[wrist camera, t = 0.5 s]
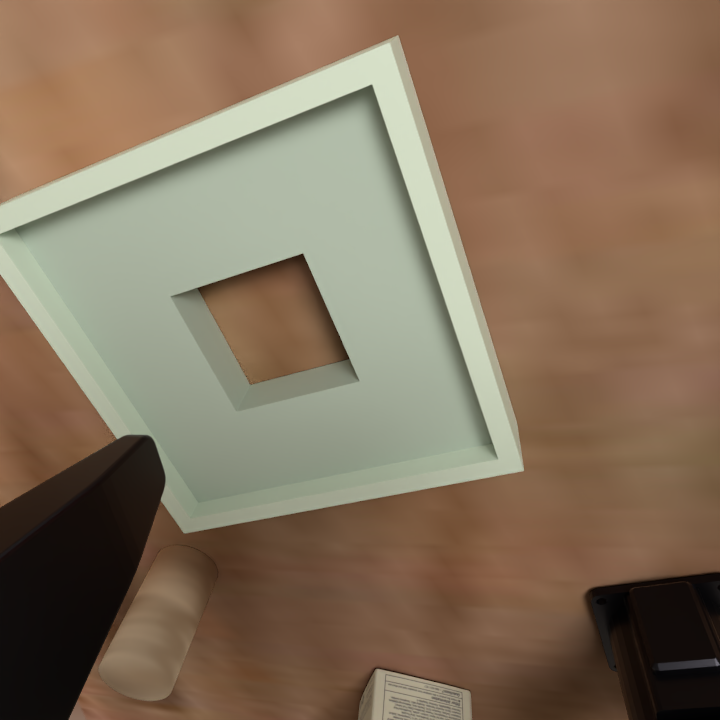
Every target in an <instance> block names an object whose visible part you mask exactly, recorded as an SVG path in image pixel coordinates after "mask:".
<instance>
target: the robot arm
mask: <svg viewBox="0 0 720 720" xmlns="http://www.w3.org/2000/svg"><path fill="white" fill-rule="evenodd" d="M165 483H166V476H165V471H164V468H163V465H162V462H161V459H160V456H159V453H158V450H157V447H156V444H155V441H154V439H153V438H152V437H151V436H149V435H134V434H130V435H124V436H122V437H121V438H119V439H117V440H115V441H114V442H112V443H110V444H109V445H107V446H105V447H103V448H102V449H100V450H98V451H97V452H95V453H93V454H91V455H90V456H88V457H86V458H85V459H83V460H81V461H79V462H78V463H76V464H74V465H73V466H71V467H69V468H67V469H66V470H64V471H62V472H60V473H59V474H57V475H55V476H54V477H52V478H50V479H48V480H47V481H45V482H43V483H42V484H40V485H38V486H36V487H35V488H33V489H31V490H30V491H28V492H26V493H24V494H23V495H21V496H19V497H18V498H16V499H14V500H12V501H11V502H9V503H7V504H6V505H4V506H2V507H0V720H69V717H70V715H71V713H72V711H73V709H74V706H75V704H76V702H77V700H78V698H79V696H80V693H81V691H82V689H83V687H84V685H85V682H86V680H87V678H88V676H89V674H90V672H91V669H92V667H93V665H94V663H95V661H96V658H97V656H98V654H99V652H100V650H101V648H102V645H103V643H104V641H105V639H106V637H107V635H108V632H109V630H110V628H111V626H112V624H113V621H114V619H115V617H116V615H117V613H118V611H119V608H120V606H121V604H122V602H123V600H124V597H125V595H126V593H127V591H128V589H129V587H130V584H131V582H132V580H133V577H134V575H135V573H136V570H137V568H138V565H139V562H140V560H141V557H142V554H143V551H144V548H145V545H146V542H147V539H148V536H149V533H150V530H151V527H152V524H153V521H154V518H155V515H156V512H157V509H158V506H159V503H160V500H161V497H162V494H163V491H164V488H165ZM590 600H591V604H592V608H593V611H594V615H595V618H596V622H597V625H598V629H599V632H600V636H601V640H602V643H603V647H604V650H605V654H606V657H607V661H608V664H609V667H610V669H611V670H613V671H616V672H618V676H619V681H620V685H621V689H622V693H623V697H624V701H625V705H626V710H627V714H628V718H629V720H720V573H719V574H711V575H703V576H695V577H686V578H678V579H670V580H662V581H654V582H646V583H638V584H630V585H621V586H613V587H605V588H598V589H594V590H592V591H591V592H590Z"/></svg>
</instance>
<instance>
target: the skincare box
mask: <svg viewBox="0 0 720 720" xmlns="http://www.w3.org/2000/svg"><path fill="white" fill-rule="evenodd" d="M358 720H472V708H471V693H470V691H468V690H464V689H460V688H457V687H453V686H449V685H445V684H441V683H437V682H433V681H428V680H424V679H420V678H416V677H412V676H408V675H404V674H400V673H395V672H390V671H386V670H382V669H375V671H374V673H373V675H372V677H371V679H370V680H369V682H368V684H367V686H366V688H365V691H364V693H363V695H362V698H361V701H360V706H359V716H358Z"/></svg>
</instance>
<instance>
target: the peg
mask: <svg viewBox="0 0 720 720" xmlns="http://www.w3.org/2000/svg"><path fill="white" fill-rule="evenodd" d="M217 577H218V570H217V567H216V565H215V563H214V562H213V561H212V560H211V559H210V558H209V557H208V556H207V555H206V554H204V553H203V552H201V551H199V550H197V549H194V548H192V547H188V546H183V545H173V546H168V547H165V548H163V549H162V550H160V551H159V553H158V554H157V556H156V558H155V560H154V562H153V564H152V566H151V568H150V569H149V571H148V573H147V575H146V577H145V579H144V581H143V583H142V585H141V587H140V589H139V590H138V592H137V594H136V596H135V598H134V600H133V602H132V604H131V606H130V608H129V610H128V611H127V613H126V615H125V617H124V619H123V621H122V623H121V625H120V627H119V629H118V631H117V632H116V634H115V636H114V638H113V640H112V642H111V644H110V646H109V648H108V650H107V652H106V653H105V655H104V657H103V659H102V661H101V663H100V665H99V668H98V670H99V674H100V677H101V678H102V680H103V681H104V682H105V683H106V684H107V685H108V686H109V687H111V688H112V689H114V690H115V691H117V692H119V693H121V694H123V695H125V696H128V697H131V698H134V699H138V700H145V701H156V700H161V699H164V698H166V697H168V696H169V695H170V694H171V692H172V689H173V687H174V684H175V682H176V679H177V677H178V674H179V672H180V669H181V667H182V664H183V662H184V659H185V657H186V654H187V652H188V649H189V647H190V644H191V642H192V639H193V637H194V634H195V632H196V629H197V627H198V624H199V622H200V619H201V617H202V614H203V612H204V610H205V607H206V605H207V602H208V600H209V597H210V595H211V592H212V590H213V587H214V585H215V582H216V580H217Z"/></svg>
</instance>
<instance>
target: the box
mask: <svg viewBox="0 0 720 720" xmlns="http://www.w3.org/2000/svg"><path fill="white" fill-rule="evenodd" d="M300 254H304V256H305V259H306V261H307V263H308V265H309V268H310V270H311V272H312V275H313V277H314V279H315V281H316V284H317V286H318V288H319V290H320V293H321V295H322V297H323V299H324V302H325V304H326V306H327V308H328V311H329V313H330V315H331V317H332V320H333V322H334V324H335V327H336V329H337V331H338V333H339V336H340V338H341V340H342V342H343V345H344V347H345V349H346V351H347V354H348V356H349V358H350V359H348V360H344V361H340V362H337V363H333V364H329V365H325V366H321V367H317V368H314V369H310V370H306V371H302V372H298V373H294V374H291V375H287V376H283V377H279V378H275V379H271V380H268V381H264V382H260V383H256V384H252V385H250V384H249V382H248V380H247V378H246V376H245V374H244V373H243V371H242V369H241V367H240V365H239V363H238V362H237V360H236V358H235V356H234V354H233V352H232V351H231V349H230V347H229V345H228V343H227V341H226V340H225V338H224V336H223V334H222V332H221V331H220V329H219V327H218V325H217V323H216V321H215V320H214V318H213V316H212V314H211V312H210V310H209V309H208V307H207V305H206V303H205V301H204V299H203V298H202V296H201V294H200V292H199V290H198V287H201V286H204V285H207V284H210V283H213V282H216V281H220V280H223V279H226V278H229V277H232V276H235V275H238V274H241V273H244V272H247V271H250V270H253V269H256V268H260V267H263V266H266V265H269V264H272V263H275V262H278V261H281V260H284V259H287V258H290V257H293V256H296V255H300ZM0 274H1V276H2V277H3V279H4V280H5V281H6V283H7V284H8V286H9V287H10V289H11V290H12V291H13V293H14V294H15V296H16V297H17V298H18V300H19V301H20V303H21V304H22V305H23V307H24V308H25V310H26V311H27V313H28V314H29V315H30V317H31V318H32V320H33V321H34V322H35V324H36V325H37V327H38V328H39V329H40V331H41V332H42V334H43V335H44V337H45V338H46V339H47V341H48V342H49V344H50V345H51V346H52V348H53V349H54V351H55V352H56V353H57V355H58V356H59V358H60V359H61V360H62V362H63V363H64V365H65V366H66V368H67V369H68V370H69V372H70V373H71V375H72V376H73V377H74V379H75V380H76V382H77V383H78V384H79V386H80V387H81V389H82V390H83V392H84V393H85V394H86V396H87V397H88V399H89V400H90V401H91V403H92V404H93V406H94V407H95V408H96V410H97V411H98V413H99V414H100V416H101V417H102V418H103V420H104V421H105V423H106V424H107V425H108V427H109V428H110V430H111V431H112V432H113V434H114V435H115V437H116V438H117V439H119V438H121V437H122V436H124V435H130V434H134V435H149V436H151V437H152V438H153V439H154V441H155V444H156V447H157V450H158V453H159V456H160V459H161V462H162V465H163V468H164V471H165V476H166V483H165V488H164V491H163V494H162V497H161V502H162V503H163V504H164V506H165V507H166V509H167V510H168V511H169V513H170V514H171V516H172V517H173V519H174V520H175V521H176V523H177V524H178V526H179V527H180V528H181V530H182V531H183V533H184V534H185V533H190V532H196V531H201V530H206V529H212V528H217V527H223V526H228V525H234V524H239V523H244V522H250V521H255V520H261V519H266V518H271V517H277V516H282V515H288V514H293V513H299V512H304V511H309V510H315V509H320V508H326V507H331V506H336V505H342V504H347V503H353V502H358V501H364V500H369V499H374V498H380V497H385V496H391V495H396V494H402V493H407V492H412V491H418V490H423V489H429V488H434V487H439V486H445V485H450V484H456V483H461V482H467V481H472V480H477V479H483V478H488V477H494V476H499V475H504V474H510V473H515V472H521V471H524V467H523V460H522V453H521V446H520V440H519V433H518V426H517V421H516V418H515V415H514V412H513V408H512V405H511V402H510V399H509V395H508V392H507V389H506V385H505V382H504V379H503V376H502V372H501V369H500V366H499V363H498V359H497V356H496V353H495V350H494V346H493V343H492V340H491V336H490V333H489V330H488V327H487V323H486V320H485V317H484V314H483V310H482V307H481V304H480V300H479V297H478V294H477V291H476V287H475V284H474V281H473V278H472V274H471V271H470V268H469V265H468V261H467V258H466V255H465V251H464V248H463V245H462V242H461V238H460V235H459V232H458V229H457V225H456V222H455V219H454V216H453V212H452V209H451V206H450V202H449V199H448V196H447V193H446V189H445V186H444V183H443V180H442V176H441V173H440V170H439V167H438V163H437V160H436V157H435V153H434V150H433V147H432V144H431V140H430V137H429V134H428V131H427V127H426V124H425V121H424V118H423V114H422V111H421V108H420V104H419V101H418V98H417V95H416V91H415V88H414V85H413V82H412V78H411V75H410V72H409V69H408V65H407V62H406V59H405V55H404V52H403V49H402V46H401V42H400V39H399V36H395V37H393V38H391V39H388V40H386V41H383V42H381V43H379V44H376V45H374V46H372V47H369V48H367V49H365V50H362V51H360V52H357V53H355V54H353V55H350V56H348V57H346V58H343V59H341V60H338V61H336V62H334V63H331V64H329V65H327V66H324V67H322V68H319V69H317V70H315V71H312V72H310V73H308V74H305V75H303V76H301V77H298V78H296V79H293V80H291V81H289V82H286V83H284V84H282V85H279V86H277V87H274V88H272V89H270V90H267V91H265V92H263V93H260V94H258V95H255V96H253V97H251V98H248V99H246V100H244V101H241V102H239V103H237V104H234V105H232V106H229V107H227V108H225V109H222V110H220V111H218V112H215V113H213V114H210V115H208V116H206V117H203V118H201V119H199V120H196V121H194V122H192V123H189V124H187V125H184V126H182V127H180V128H177V129H175V130H173V131H170V132H168V133H165V134H163V135H161V136H158V137H156V138H154V139H151V140H149V141H146V142H144V143H142V144H139V145H137V146H135V147H132V148H130V149H128V150H125V151H123V152H120V153H118V154H116V155H113V156H111V157H109V158H106V159H104V160H101V161H99V162H97V163H94V164H92V165H90V166H87V167H85V168H83V169H80V170H78V171H75V172H73V173H71V174H68V175H66V176H64V177H61V178H59V179H56V180H54V181H52V182H49V183H47V184H45V185H42V186H40V187H37V188H35V189H33V190H30V191H28V192H26V193H23V194H21V195H19V196H16V197H14V198H12V199H10V200H8V201H6V202H4V203H1V204H0Z"/></svg>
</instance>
